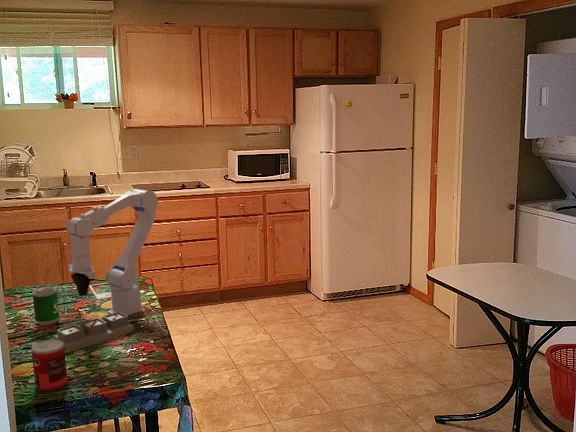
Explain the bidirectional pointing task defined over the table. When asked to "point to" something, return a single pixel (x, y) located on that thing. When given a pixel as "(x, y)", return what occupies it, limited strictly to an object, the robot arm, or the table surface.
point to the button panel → (94, 332)
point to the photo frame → (100, 296)
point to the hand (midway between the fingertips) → (83, 295)
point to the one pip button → (70, 330)
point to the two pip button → (115, 317)
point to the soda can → (46, 305)
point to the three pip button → (93, 323)
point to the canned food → (49, 365)
